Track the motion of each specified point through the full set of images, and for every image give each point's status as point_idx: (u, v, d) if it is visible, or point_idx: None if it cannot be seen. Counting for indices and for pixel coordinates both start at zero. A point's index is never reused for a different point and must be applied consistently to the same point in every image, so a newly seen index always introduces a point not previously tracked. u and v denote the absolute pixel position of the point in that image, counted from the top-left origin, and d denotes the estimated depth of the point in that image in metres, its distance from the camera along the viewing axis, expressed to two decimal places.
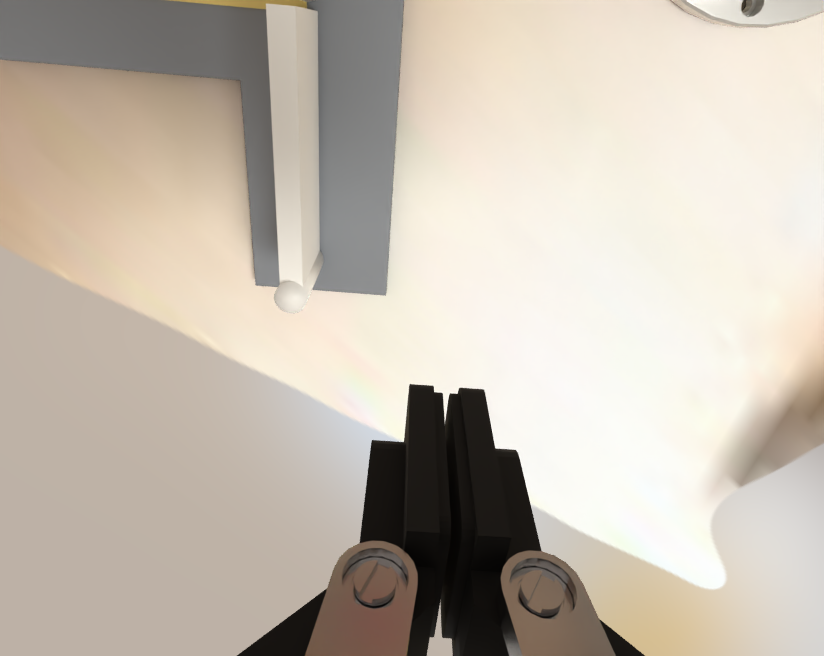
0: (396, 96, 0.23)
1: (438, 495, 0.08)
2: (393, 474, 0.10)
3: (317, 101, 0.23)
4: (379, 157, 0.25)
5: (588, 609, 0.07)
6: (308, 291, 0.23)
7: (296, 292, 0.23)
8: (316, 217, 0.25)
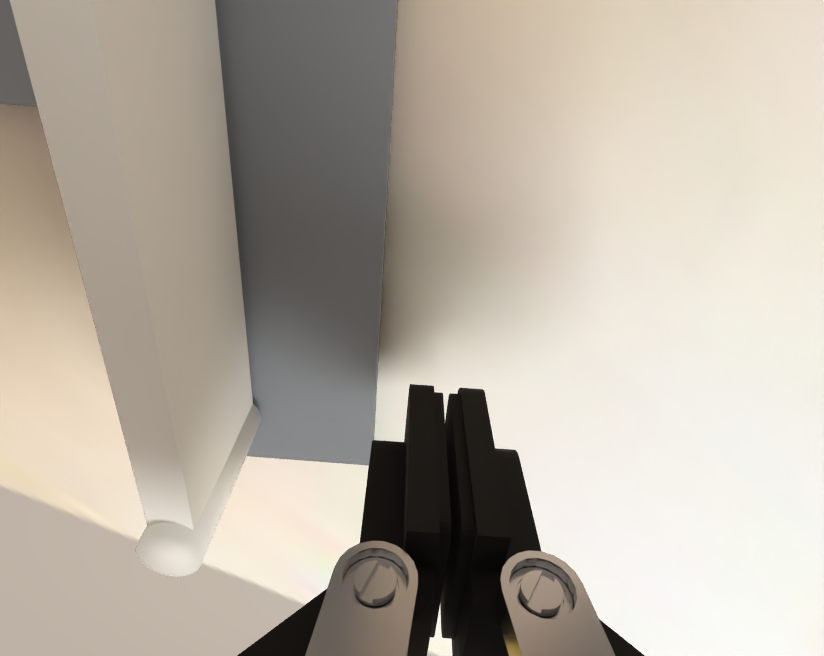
0: (386, 141, 0.12)
1: (438, 495, 0.08)
2: (393, 474, 0.10)
3: (225, 153, 0.11)
4: (355, 252, 0.13)
5: (588, 609, 0.07)
6: (209, 530, 0.12)
7: (179, 545, 0.11)
8: (237, 362, 0.13)
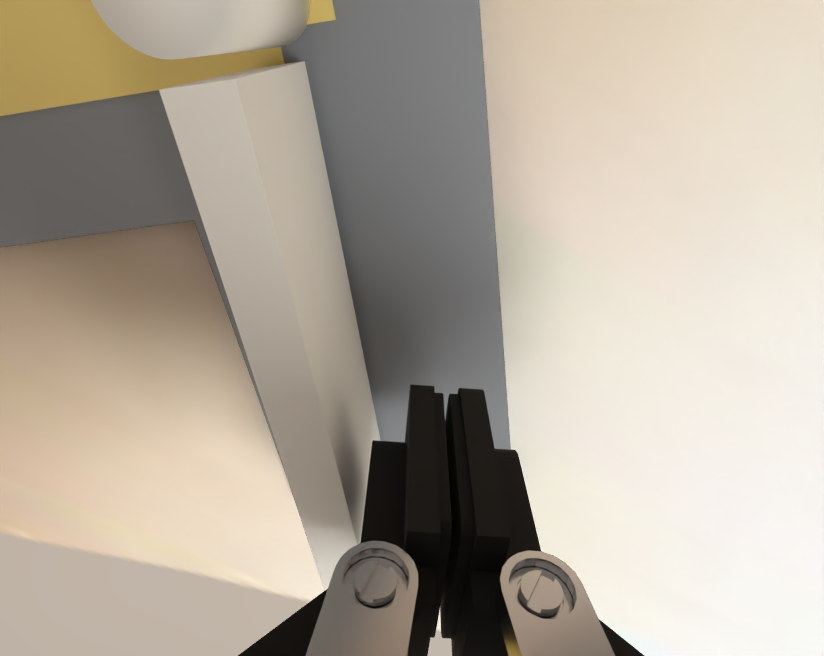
0: (489, 182, 0.12)
1: (438, 495, 0.08)
2: (393, 474, 0.10)
3: (336, 230, 0.12)
4: (472, 293, 0.13)
5: (587, 609, 0.07)
6: None
7: None
8: (370, 421, 0.14)
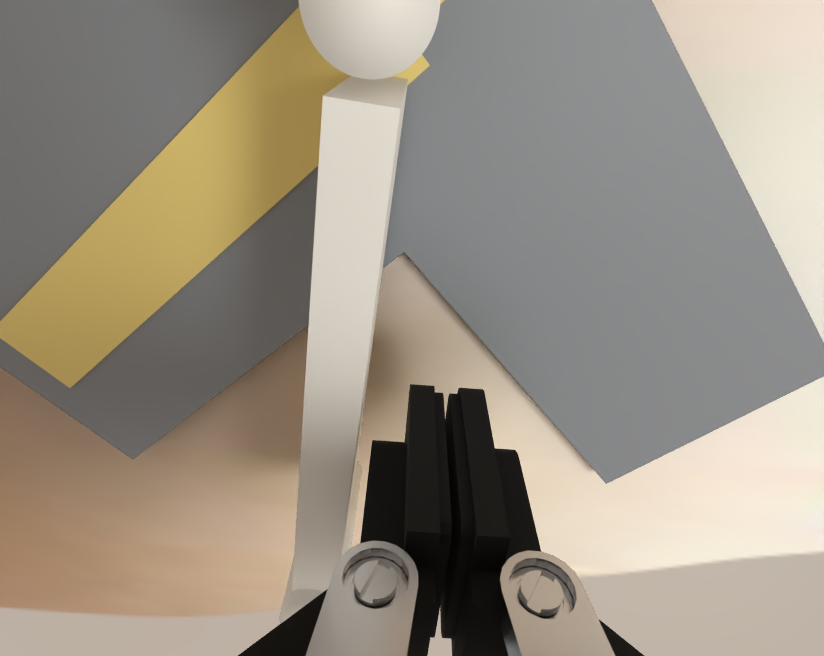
0: (673, 52, 0.10)
1: (438, 496, 0.08)
2: (393, 474, 0.10)
3: None
4: (700, 177, 0.12)
5: (587, 609, 0.07)
6: None
7: None
8: (360, 427, 0.14)
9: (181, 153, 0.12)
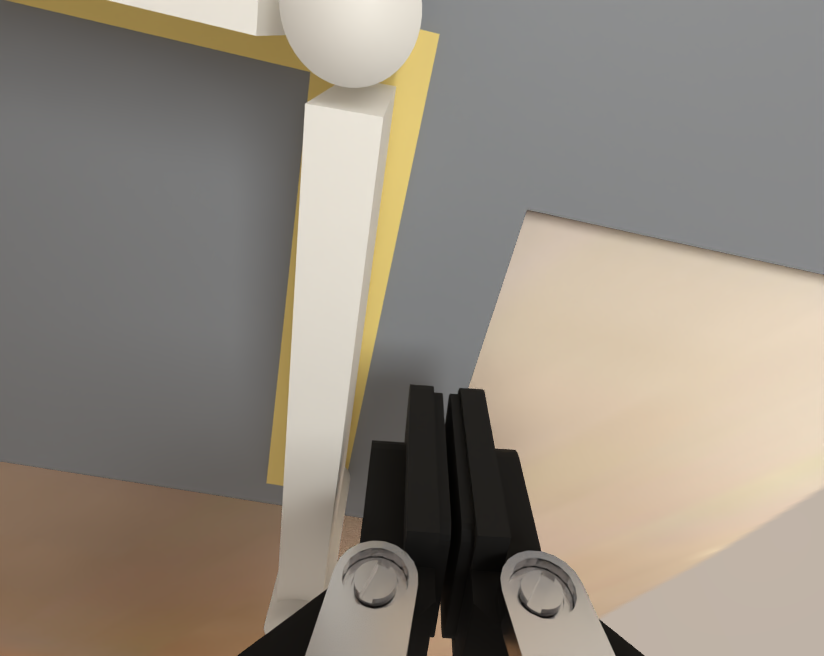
0: None
1: (438, 495, 0.08)
2: (393, 474, 0.10)
3: None
4: None
5: (588, 609, 0.07)
6: None
7: None
8: (348, 434, 0.14)
9: None
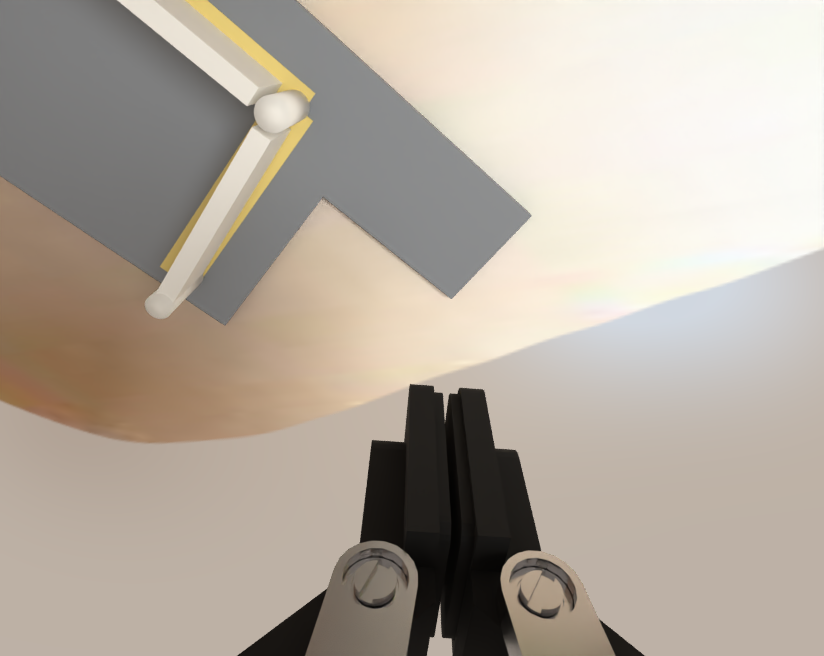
0: (400, 98, 0.28)
1: (438, 495, 0.08)
2: (393, 474, 0.10)
3: (258, 181, 0.29)
4: (431, 141, 0.29)
5: (588, 609, 0.07)
6: (175, 307, 0.29)
7: (165, 305, 0.28)
8: (213, 253, 0.31)
9: None
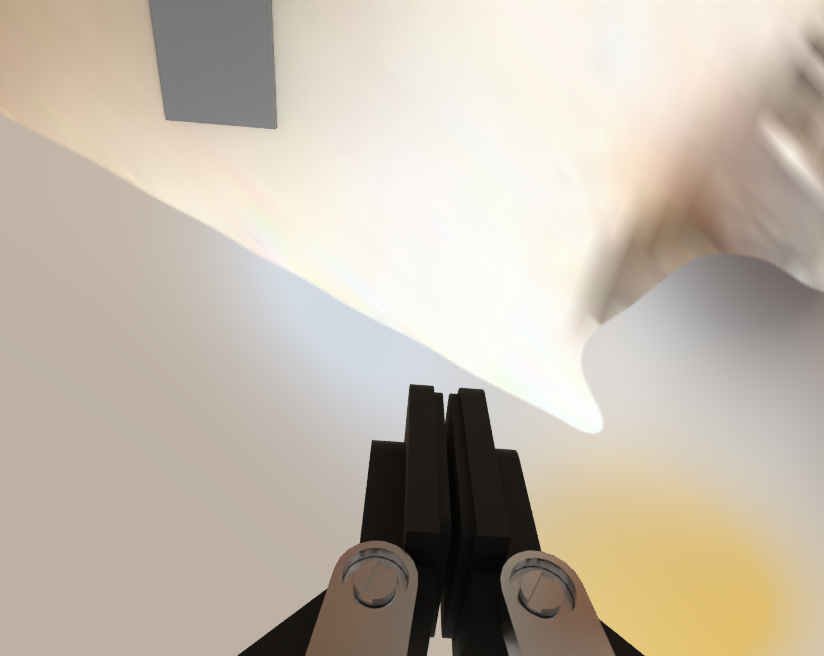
0: None
1: (438, 495, 0.08)
2: (393, 474, 0.10)
3: None
4: None
5: (588, 609, 0.07)
6: None
7: None
8: None
9: None
